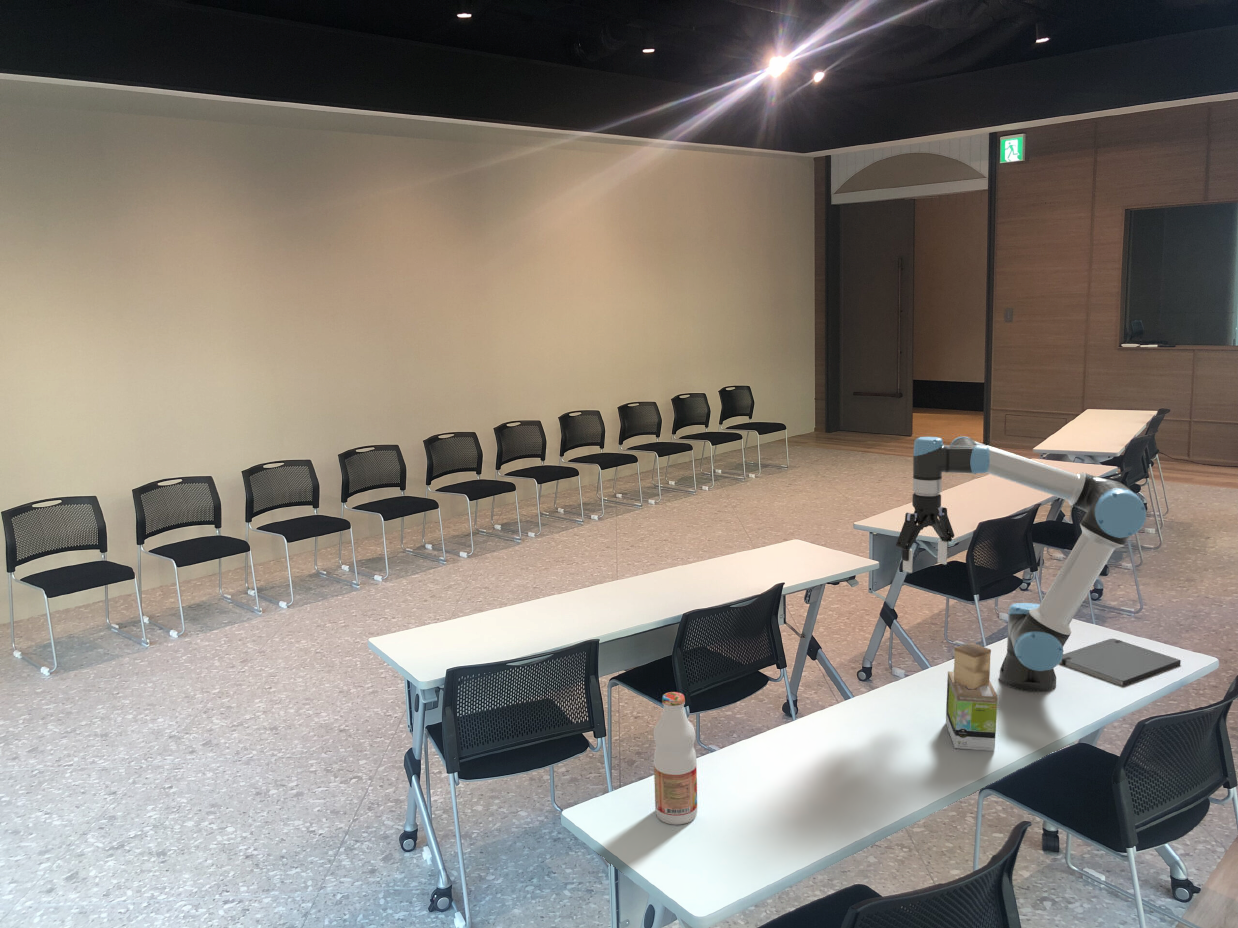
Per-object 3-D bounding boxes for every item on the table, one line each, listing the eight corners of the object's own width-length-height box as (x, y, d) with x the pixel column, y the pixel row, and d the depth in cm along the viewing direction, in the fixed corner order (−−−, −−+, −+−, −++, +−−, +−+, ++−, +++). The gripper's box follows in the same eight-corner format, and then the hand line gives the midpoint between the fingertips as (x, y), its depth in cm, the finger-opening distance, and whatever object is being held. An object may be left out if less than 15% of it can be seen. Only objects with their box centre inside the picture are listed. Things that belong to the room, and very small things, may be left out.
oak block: (969, 675, 237) (971, 642, 235) (989, 683, 232) (991, 649, 230) (953, 680, 234) (954, 647, 232) (973, 689, 229) (974, 654, 227)
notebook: (1122, 688, 261) (1180, 666, 275) (1123, 680, 261) (1180, 659, 274) (1054, 663, 280) (1111, 644, 293) (1055, 656, 280) (1112, 637, 293)
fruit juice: (646, 811, 206) (643, 694, 201) (679, 798, 211) (676, 683, 206) (672, 830, 198) (669, 709, 193) (706, 815, 203) (704, 697, 199)
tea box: (996, 751, 227) (998, 695, 225) (953, 749, 229) (955, 693, 227) (984, 724, 242) (986, 671, 239) (944, 722, 244) (946, 669, 241)
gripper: (947, 485, 262) (945, 556, 266) (883, 496, 250) (882, 571, 254) (969, 489, 256) (966, 562, 259) (904, 501, 244) (902, 578, 248)
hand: (925, 567), depth 257 cm, fingers open, 13 cm apart
